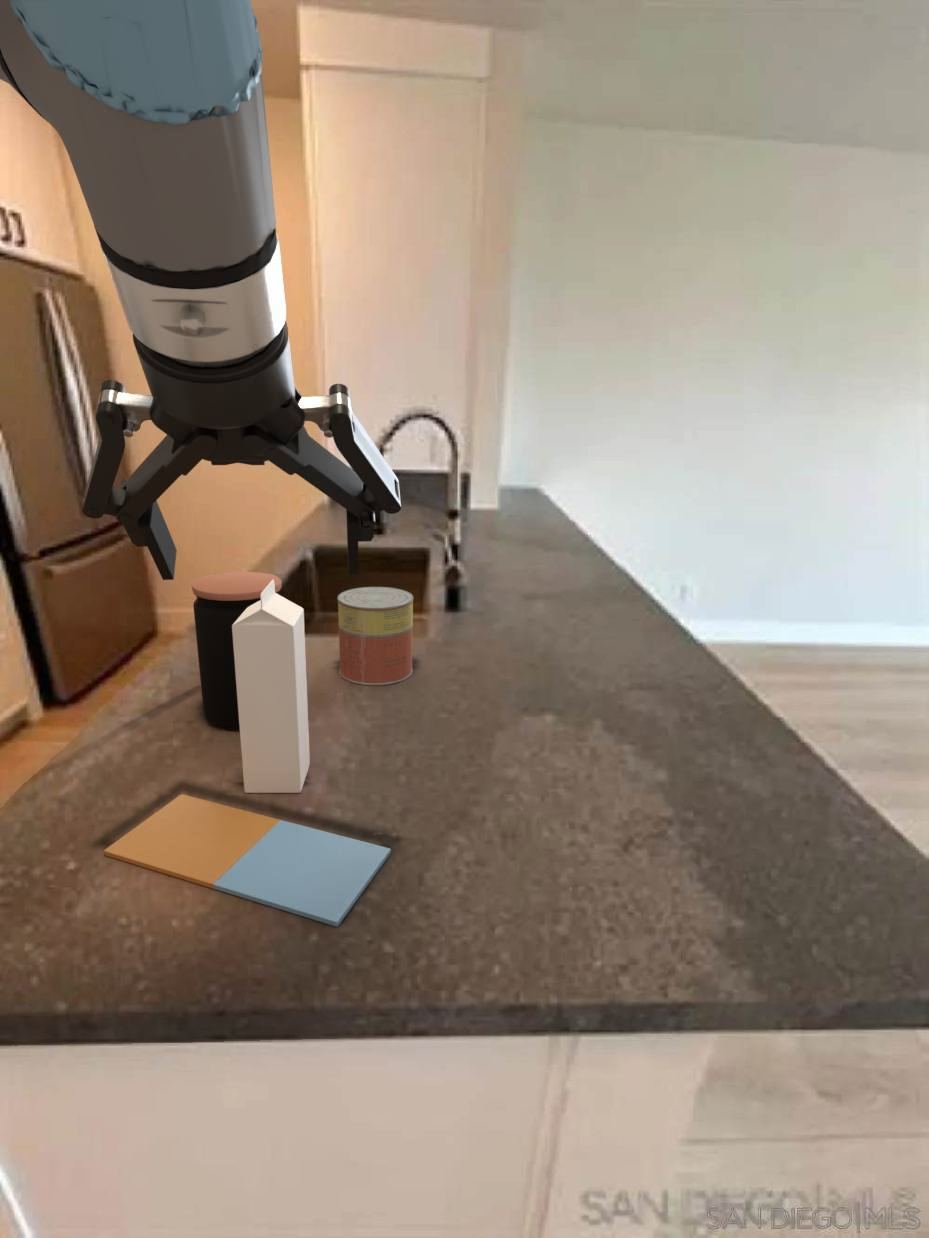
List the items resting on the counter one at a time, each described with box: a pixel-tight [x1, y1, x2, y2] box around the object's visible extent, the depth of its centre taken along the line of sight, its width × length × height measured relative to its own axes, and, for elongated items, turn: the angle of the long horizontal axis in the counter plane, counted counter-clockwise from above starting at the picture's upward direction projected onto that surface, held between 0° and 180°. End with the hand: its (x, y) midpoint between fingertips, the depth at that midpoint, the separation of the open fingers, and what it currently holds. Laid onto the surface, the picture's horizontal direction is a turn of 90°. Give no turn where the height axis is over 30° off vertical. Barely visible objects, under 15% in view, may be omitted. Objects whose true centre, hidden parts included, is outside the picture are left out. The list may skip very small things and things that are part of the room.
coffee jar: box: [191, 571, 283, 731], centre depth 86 cm, size 11×11×18 cm
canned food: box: [336, 586, 415, 687], centre depth 102 cm, size 11×11×12 cm
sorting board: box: [103, 793, 392, 928], centre depth 62 cm, size 24×10×1 cm, turn 70°
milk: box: [232, 580, 311, 794], centre depth 71 cm, size 6×6×22 cm
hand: (263, 562), depth 52 cm, fingers open, 13 cm apart
